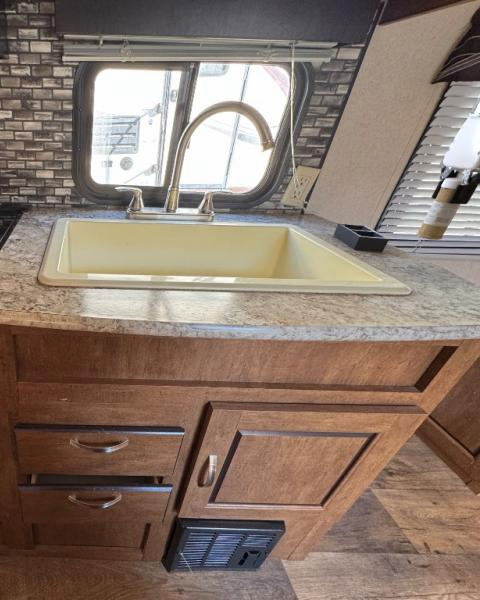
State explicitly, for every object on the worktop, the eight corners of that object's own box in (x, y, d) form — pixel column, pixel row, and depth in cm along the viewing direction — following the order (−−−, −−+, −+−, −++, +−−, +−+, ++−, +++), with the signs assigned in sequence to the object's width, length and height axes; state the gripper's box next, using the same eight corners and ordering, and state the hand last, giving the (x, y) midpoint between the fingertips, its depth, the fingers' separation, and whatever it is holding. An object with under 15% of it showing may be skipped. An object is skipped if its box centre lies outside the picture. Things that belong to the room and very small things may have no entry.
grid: (358, 237, 104) (364, 225, 102) (382, 252, 92) (389, 238, 90) (333, 235, 105) (338, 223, 103) (353, 249, 94) (359, 236, 91)
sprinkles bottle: (441, 237, 76) (474, 178, 69) (441, 241, 73) (476, 181, 67) (415, 233, 79) (445, 176, 72) (414, 237, 76) (445, 179, 69)
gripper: (569, 105, 55) (501, 210, 64) (487, 109, 69) (441, 194, 78) (514, 106, 57) (455, 209, 66) (445, 110, 71) (405, 193, 80)
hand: (448, 200), depth 72 cm, fingers closed on sprinkles bottle, 4 cm apart
